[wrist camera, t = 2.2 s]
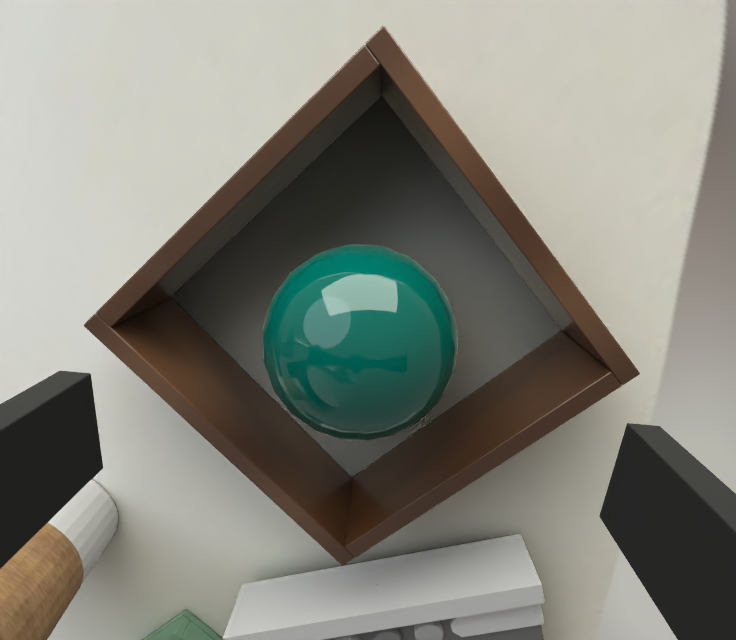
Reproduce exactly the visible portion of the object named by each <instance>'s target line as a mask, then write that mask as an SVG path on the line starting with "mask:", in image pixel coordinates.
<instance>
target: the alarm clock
mask: <svg viewBox="0 0 736 640" xmlns="http://www.w3.org/2000/svg"><path fill="white" fill-rule="evenodd" d="M542 603H545V600H544V594H543V589H542V584H541V582H540V579H539V577H538V574H537V572H536V570H535V567H534V565H533V562H532V560H531V558H530V555H529V553H528V550H527V548H526V546H525V543H524V541H523V538H522V536H521V534H516V535H511V536H505V537H500V538H494V539H488V540H483V541H477V542H472V543H466V544H461V545H455V546H450V547H444V548H439V549H433V550H428V551H422V552H417V553H411V554H406V555H400V556H395V557H389V558H383V559H378V560H372V561H367V562H361V563H356V564H350V565H345V566H339V567H334V568H328V569H323V570H317V571H312V572H306V573H301V574H295V575H290V576H284V577H278V578H273V579H267V580H262V581H256V582H251V583H245V584H242V586H241V589H240V592H239V594H238V597H237V600H236V603H235V606H234V608H233V611H232V614H231V617H230V619H229V622H228V625H227V628H226V630H225V633H224V636H223V640H544V639H543V634H542V628H541V625H542V624H544V618H543V613H542V607H541V604H542Z"/></svg>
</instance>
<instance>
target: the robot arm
mask: <svg viewBox="0 0 736 640" xmlns="http://www.w3.org/2000/svg"><path fill="white" fill-rule="evenodd" d="M102 468H103V464H102V456H101V449H100V441H99V434H98V426H97V419H96V411H95V404H94V396H93V389H92V381H91V374H89V373H78V372H68V371H59V372H57V373H55V374H54V375H52V376H50V377H48V378H46V379H45V380H43V381H41V382H39V383H38V384H36V385H34V386H32V387H30V388H29V389H27V390H25V391H23V392H22V393H20V394H18V395H16V396H14V397H13V398H11V399H9V400H7V401H5V402H4V403H2V404H0V569H1V568H2V567H3V566H4V565H5V564H6V563H7V562H8V561H9V560H10V559H11V558H12V557H13V556H14V555H15V554H16V553H17V552H18V551H19V550H20V549H21V548H22V547H23V546H24V545H25V544H26V543H27V542H28V541H29V540H30V539H31V538H32V537H33V536H34V535H35V534H36V533H37V532H38V531H39V530H40V529H42V528H43V527H44V526H45V525H46V524H47V523H48V522H49V521H50V520H51V519H52V518H53V517H54V516H55V515H56V514H57V513H58V512H59V511H60V510H61V509H62V508H63V507H64V506H65V505H66V504H67V503H68V502H69V501H70V500H71V499H72V498H73V497H74V496H75V495H76V494H77V493H78V492H79V491H80V490H81V489H82V488H83V487H84V486H85V485H86V484H87V483H88V482H89V481H90V480H91V479H92V478H93V477H94V476H95V475H96V474H97V473H98V472H99V471H100V470H101V469H102ZM600 518H601V520H602V521H603V523H604V524H605V526H606V527H607V529H608V531H609V532H610V534H611V535H612V537H613V538H614V540H615V542H616V543H617V545H618V546H619V548H620V549H621V551H622V553H623V554H624V556H625V557H626V559H627V560H628V562H629V563H630V565H631V567H632V568H633V570H634V571H635V573H636V575H637V576H638V578H639V579H640V581H641V582H642V584H643V586H644V587H645V589H646V590H647V592H648V594H649V595H650V597H651V598H652V600H653V601H654V603H655V605H656V606H657V608H658V609H659V610H660V612H661V614H662V615H663V617H664V618H665V620H666V622H667V623H668V625H669V626H670V628H671V630H672V631H673V633H674V634H675V636H676V638H677V639H678V640H736V494H735V493H734V492H733V491H732V490H731V489H729V488H728V487H727V486H726V485H725V484H724V483H723V482H721V481H720V480H719V479H718V478H717V477H716V476H715V475H714V474H713V473H711V472H710V471H709V470H708V469H707V468H706V467H705V466H704V465H703V464H701V463H700V462H699V461H698V460H697V459H696V458H695V457H694V456H692V455H691V454H690V453H689V452H688V451H687V450H686V449H684V448H683V447H682V446H681V445H680V444H679V443H678V442H676V441H675V440H674V439H673V438H672V437H671V436H670V435H669V434H668V433H667V432H665V431H664V430H663V429H662V428H661V427H660V426H651V425H640V424H629V423H627V426H626V429H625V433H624V436H623V439H622V443H621V446H620V449H619V453H618V456H617V459H616V463H615V466H614V469H613V473H612V476H611V480H610V483H609V486H608V490H607V493H606V496H605V500H604V503H603V506H602V510H601V513H600Z"/></svg>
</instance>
